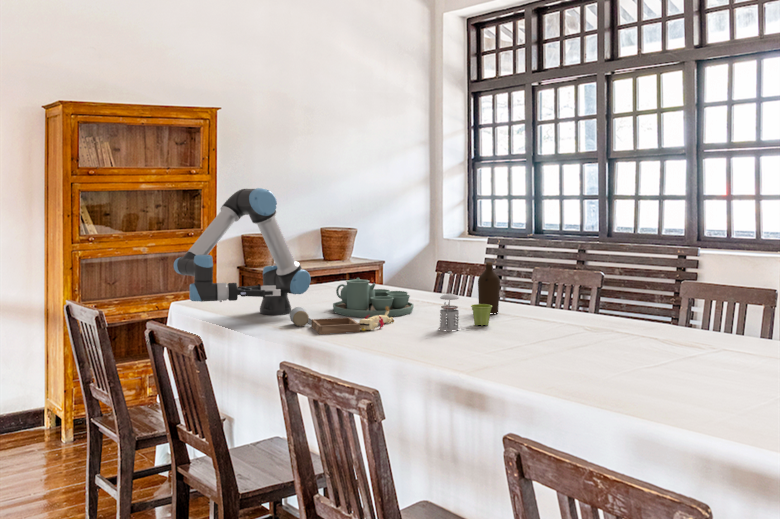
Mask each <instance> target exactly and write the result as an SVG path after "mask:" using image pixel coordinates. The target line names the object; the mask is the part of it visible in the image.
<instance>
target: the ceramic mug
mask: <svg viewBox="0 0 780 519" xmlns="http://www.w3.org/2000/svg"><path fill="white" fill-rule="evenodd" d="M289 319H290V321H291V322H292V323H293V325H294V326H297V327H300V326H301V327H304V326H306V325H307V324H309V325H311V326H312V318H310V317H309V314H308V312H307V311H306V309H305V308H304V307H302V306H295V307H293V308H291V312H290V313H289Z"/></svg>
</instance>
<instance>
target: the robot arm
mask: <svg viewBox="0 0 780 519" xmlns="http://www.w3.org/2000/svg"><path fill="white" fill-rule="evenodd" d="M277 204H278V203H277V199H276V196H275V195H274V193H273V192H272V191H271V190H269V189H266V188H259V187H257V188H242V189H239V190H237V191H236V192H234V193H233V194H231V195H230V197H229V198H227V199H226V201H225V202H224V203H223V204H222V205H221V206H220V209H219V210H220V212H219V213H218V214H217V215H216V216H215V218H214V219H213V220H212V221H211V222H210V223H209V225H208V226H207V227H206V228H205V230H204V231H203V233H201V234H200V236H199V237H198V238H197V240H195V242H194V243H193V244H192V246H191V247H190V248H189V249H188V251H187V252H185V254H184V255H183V256H179V257H178V258H176V259H175V260H174V262H173V270H174V271H175V272H176V273H177V274H178V275H182V276H190V277H194V278H193V279H194V281H193V283H190V284H189V300H190V301H191V302H201V303H203V302H219V303H222V302H225V301H230V302H231V301H234V302H235V301H237V300H238V297H239V296H240V297H241V298H242V297H243V298H244V297H256V298H257V297H259V298H262V299H261V300H262V301H261V303H260V306H259V314H262V315H267V316H268V315H269V316H272V315H273V316H276V315H277V316H279V315H280V316H281V315H287V314H290V312H291V310H292V305H291V303H290V300H289V296H288V294H290V295H302V294H305V293H306V292H307V290H309V288H310V284H311V282H312V281H311V278H312V277H311V275H310V272H308V271H307V270H306V269H303V268H302V265H301V264H300V262H299V261H297V260H295V258H294V255H293V254H292V252H291V250H290V247H289V245H288V243H287V241H286V238H285V236H284V234H283V232H282V230H281V227H280V225H279V223H278V220H277V218H276V215H277V210H276V209H277ZM243 216H249V218H250V220H251V222H252V224H255V225H257V227H258V229H259V231H260V233H261V235H262V238H263V240H264V242H265V244H266V246H267V248H268V251H269V253H270V255H271V257H272V260H273V261H274V263H275V265H267V266H264V267H263V268H262V285H261V284H260V283H259V284H257V285H249V286H248V285H247V286H245V285H244V286H238V283H237V282H229V283H227V282H215V283H214V282H213V281H214V277H213V276H214V262H213V256H212V255H211V254H210V252H212V250H213V249H214V247H215V246H216V245H217V244H218V243H219V242H220V241H221V239H222V238H223V236H224V235H225V234H226V233H227V232H228V231H229V229H230V228H231V227H232V226H233V224H234V223H235V222H239V221H240V219H241V218H243Z"/></svg>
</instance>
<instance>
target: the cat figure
mask: <svg viewBox="0 0 780 519" xmlns="http://www.w3.org/2000/svg"><path fill="white" fill-rule="evenodd" d="M385 309H386V310H387V311H386V313H385V315H377V316H373V317H368V316H369V315H368V316H366V317H363V318H362V319H360V320H359V321H358V323H359V324H360V330H361V331H367V330H368V331H369V330H370V331H371V330H375V329H376V328H377V327H378V326H379V324H380V326H379V327H378V328H379V329H381V328H383V327H384V326H385V324H387V323H388V324H389V323H390V322H393V323H394V322H395V319H394V317H388V316H387V315H388V314H389V311H390V310H389V306H386V307H385Z"/></svg>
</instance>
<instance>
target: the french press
mask: <svg viewBox="0 0 780 519" xmlns="http://www.w3.org/2000/svg"><path fill="white" fill-rule="evenodd" d="M447 274H448V275H452V274H453V272H452V271H451V270H449V271H447ZM448 287H449V289H448V290H449V292H448V293H446V294H442V295H441V296H440V297H439V299H440V300H444V302H443V305H442V306H441V309H440V310H439V312H440V314H439V322H440V323H439V327H438V328H437V330H438V329H440V330H446V331H445V332H447V331H452V330H458V329H461V328H460V327H459V318H460V317H459V309H458V308H459V307H458V306H457V305H451V301H453V300H459V299H460V297H459V296H458V295H456V294H454V293H451V286H448ZM445 300H447V301H448V303H447V302H446V301H445ZM440 330H439V331H440Z"/></svg>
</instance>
